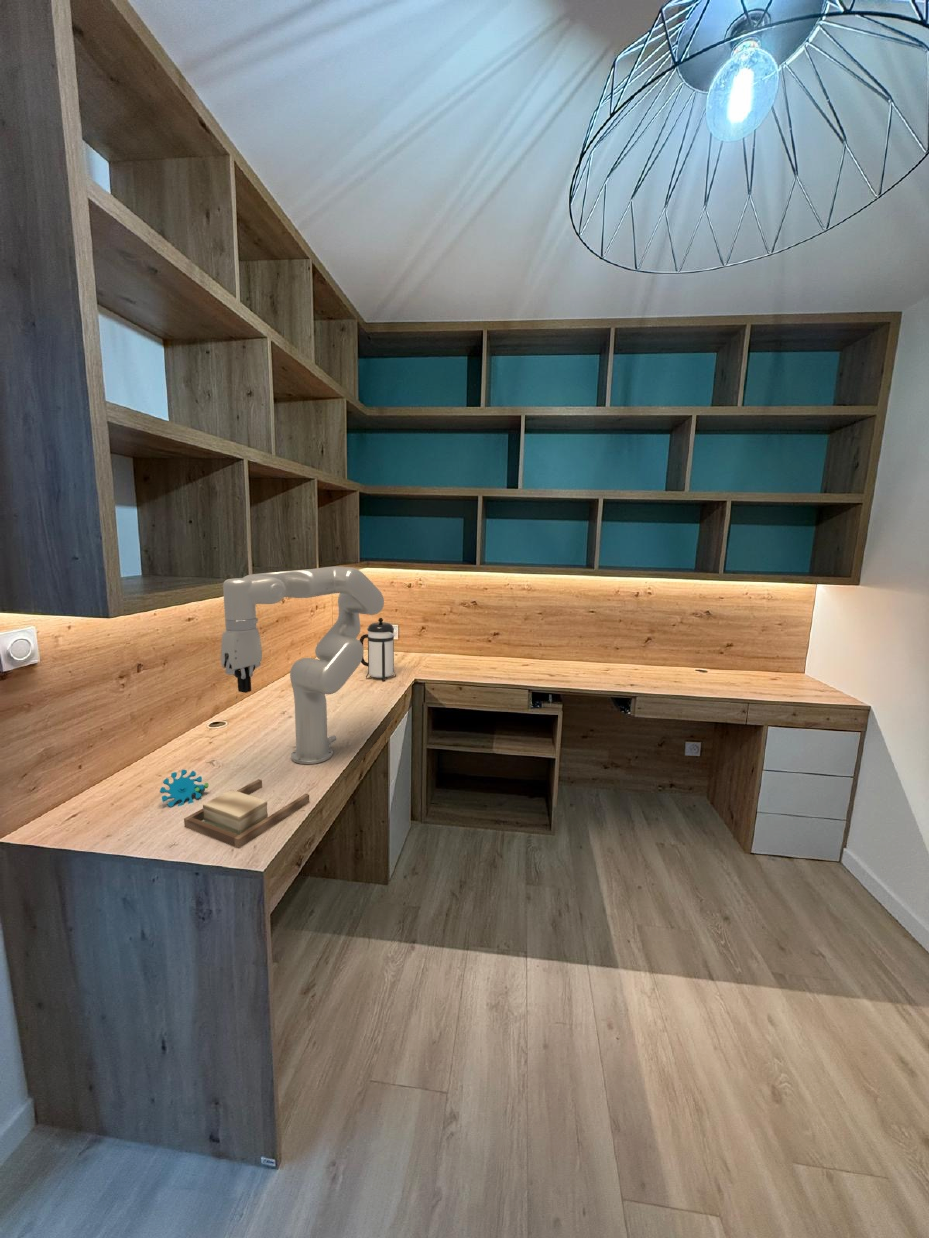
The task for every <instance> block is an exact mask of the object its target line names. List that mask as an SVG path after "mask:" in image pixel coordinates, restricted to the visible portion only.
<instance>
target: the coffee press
mask: <svg viewBox="0 0 929 1238" xmlns="http://www.w3.org/2000/svg"><path fill="white" fill-rule="evenodd" d="M377 621H378V622H372V623H370V624H369V625H368V628H366V629H367V633H368V634H367V633H366V634H363V635H361V636H360V638H359V641H360V642H361V643H362V645H363V646H364V640H365V639H367V661H366V660H365V658H364V657H363V658H362V661H361V663H360V664H362V665H363V666H365V667H367V668H368V669H367V670H368V671H367V674H366V676H365V678H366V680H369V679H370V678H376V679H379V678H380V679H381V682H386V678H389V677H391V676H392V678H396V677H397V674H396V673H395V661H394V660H395V651H394V650H395V646H394V639H395V638H394V636H395V634H396V633H395V628H394V626H393V625H392V623H390V622H385V621H384V618H382V617H379V618H378V620H377ZM394 674H395V675H394ZM368 676H369V677H368Z"/></svg>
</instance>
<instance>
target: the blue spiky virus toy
mask: <svg viewBox="0 0 929 1238" xmlns="http://www.w3.org/2000/svg"><path fill="white" fill-rule="evenodd" d="M187 771H188V770H187V769H181V771H180V777H178V778H176V777H177V775H178V772H177V771H175V772H172V773H171V774H170V777H171V778H172V780H173V782H172V783H170V779H169V778H167V777H166V778H165V779H164V780H162V783H163V785H166V786H167V787H168V788H169V789H166V787H164V786H161V788H160V789H159V793H160V794H164V793H165V794H170V795H169V796H168V795H162V796H161V801H162V802H163V803H165V802H166V801H168V800H170V799H174V800H173V801H172V800H171V801H169V802H168V803H167V806H168V807H169V808H173V807H174V806H175V804H176V803H177V802H179V801H181V802H179V803H178V805H177V807H181V806H184V802H185V801H186V800H187V799H189V800H188V802H187V804H188V805H190V804H193V803H194V802H195V801H194V800H193V798H192V795H193V794H194V795H195V798H196V799H197V800H199V799H201V797H202V794H203V793H204V792H205V791H206V789H208V788H209V786H210V784H209V782H205V783H204V784H197V783H202V781H203V778H202V776H201V775H200V776H198V777H196V775H197V773H196V772H195V770H191V772H190V773H189V775H187V773H188V772H187ZM185 775H187V776H185ZM184 776H185V777H184ZM191 777H192V778H191ZM193 777H196V778H193ZM195 782H196V783H195Z"/></svg>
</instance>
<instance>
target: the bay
mask: <svg viewBox="0 0 929 1238" xmlns="http://www.w3.org/2000/svg"><path fill="white" fill-rule="evenodd" d="M262 788H263V780H262V779H260V778H258V779H256V780H254V781H252V782H251V783H249V784H247V785H245V786H243V787H241V788H239V789H237V790H236V791H238V792H241V793H244V794H247V795H251V794H253V793H255V792H257V791H258V790H261V789H262ZM309 803H310V794H308V793H305V794H302V795H301V796H299V797H298V798H296V799H295V800H293V801H291V802H290V803H288V804H286V805H285V806H284V807H282V808H280V809H278V810H277V811H275V812H274V813H272V814H270V815H269V816H268V817H267V818H266V819H264V820H262V821H261V822H259V823H258V824H256V825H254V826H253V827H251V828H250V829H248V830H246V831H245V832H243V833H242V834H240V835H237V834H235V833H232V832H229V831H227V830H224V829H221V828H219V827H216V826H214V825H211V824H208V823H206V822H204V809H203V808H200V809H199V810H197V811H196V812H193V813H192V814H190V815H188V816H186V817H184V818H183V823H184V824H183V825H184V828H187V829H189V830H192V831H194V832H196V833H199V834H201V835H204V836H207V837H209V838H211V839H214V840H217V841H219V842H221V843H225V844H227V845H228V846H231V847H235V848H237V849H240V848H242V847H243V846H245V845H246V844H248V843H249V842H251V841H253V840H254V839H255V838H257V837H259V836H261V834H263V833H265V832H266V831H268V830H269V829H271V828H273V827H274V826H275V825H277V824H279V823H280V822H282V821H283V820H284V819H286V818H288V817H290V815H292V814H294V813H296V812H297V811H298V810H300V809H301V808H304V806H306V805H308V804H309Z"/></svg>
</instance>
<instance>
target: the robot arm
mask: <svg viewBox="0 0 929 1238" xmlns="http://www.w3.org/2000/svg"><path fill="white" fill-rule="evenodd" d="M222 589H223V590H222V591H223V603H224V604H223V605H224V607H223V608H224V622H225V630H224V631H223V632H222V635H221V636H222V637H221V645H220V663H221V667H222V668H224V669H225V670H224V674H225V675H231V676H232V675H233V676H234V678H237V680H236V681H237V690H238V692H240V693H244V694H246V693H249V692H252V677H253V675H254V671H255V670H256V669H257V668H259V667H260V666H261V662H262V660H263V648H262V642H261V641H262V640H261V636H260V631H259V629H258V627H257V623H258V622H259V619H258V618H257V615H256V614H257V611H256V605H275V604H278V603H280V602H281V601H283V599H284V598H290V599H291V598H292V599H310V598H314V597H316V598H317V597H321V596H326V595H333V594H338V596H337V597H338V599H337V604H338V605H337V606H338V617H337V619H336V622H335V623H334V624H333V625H332V627H330V629H329V630H328V631H327V632H326V633H325V635H323V637H322V638H321V639H320V640H319V642H317V644H316V647H315V649H314V650H315V651H314V652H315V656H316V657H317V658H311V657H303V658H300V659H298V660H296V661H295V662H294V663H293V664H292V666H291V668H290V673H289V678H290V684H291V687H292V692H293V699H294V715H295V716H294V724H295V728H294V729H295V747H296V748H295V749H294V750H293V751H292V752H291V755H290V756H291V758H290V759H291V761H293V762H295V763H296V764H301V765H314V764H319V763H323V762H325V761H329V759H330V758H332V756H333V753H334V751H333V748H332V747H331V746H330V745H331V744H332V743H335V742H336V741H337V740H338V738H337V735H331V736H329V737H328V717H327V716H328V714H327V713H328V711H327V708H328V707H327V705H328V704H327V698H326V695H333V694H336V693H337V692H338V691H340V690H341V689H342V687H343V686H344V685H345V684H346V682H347V681H348V680H349V679H350V677H352V676H353V673H354V672H355V671H356V670H357V669H358V667H359V666H360V665H361V664H362V663H361V661H362V658H364V652H365V649H364V644H363V645H362V643H361V642H360V639H358V637H359V635H360V633H361V621H360V615H368V616H373V615H378V614H379V613H380V612H382V610H383V609H384V606H385V598H384V595H383V593H382V592H381V590H380V589H379V588H378V586H376V585H375V584H374V583H373V582H372V581H371V579H369V577H367V576H366V574H365V573H363V572H362V571H361V570H360V569H358V568H355V567H349V566H347V567H346V566H337V565H336V566H335V565H334V566H325V567H317V568H308V569H296V570H295V569H294V570H285V571H277V572H276V571H274V572H264V573H263V572H262V573H253V574H247V575H245V576H243V577H241V578H240V577H239V578H238V577H237V578H236V577H235V578H228V579H226V580H224V582H223V584H222Z"/></svg>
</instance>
